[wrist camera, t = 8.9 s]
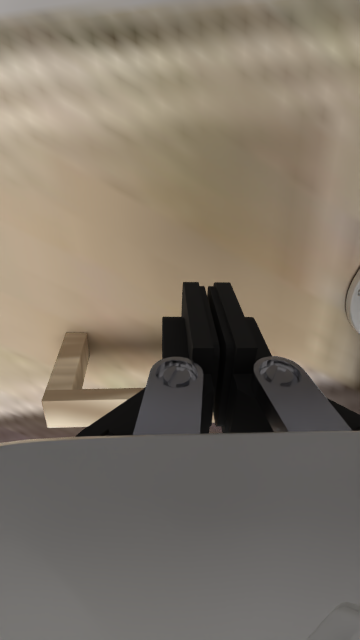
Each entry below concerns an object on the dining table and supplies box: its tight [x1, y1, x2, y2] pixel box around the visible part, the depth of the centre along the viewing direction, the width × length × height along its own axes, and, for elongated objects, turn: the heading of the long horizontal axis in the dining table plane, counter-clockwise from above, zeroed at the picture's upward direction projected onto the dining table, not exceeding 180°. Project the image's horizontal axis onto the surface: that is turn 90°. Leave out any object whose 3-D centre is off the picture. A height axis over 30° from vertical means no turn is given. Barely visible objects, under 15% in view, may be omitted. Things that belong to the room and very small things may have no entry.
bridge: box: [42, 333, 215, 428], centre depth 30 cm, size 3×14×9 cm, turn 87°
